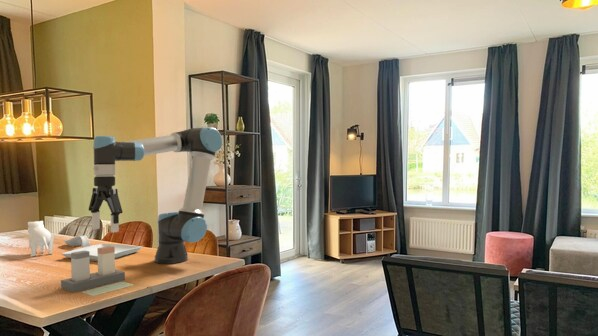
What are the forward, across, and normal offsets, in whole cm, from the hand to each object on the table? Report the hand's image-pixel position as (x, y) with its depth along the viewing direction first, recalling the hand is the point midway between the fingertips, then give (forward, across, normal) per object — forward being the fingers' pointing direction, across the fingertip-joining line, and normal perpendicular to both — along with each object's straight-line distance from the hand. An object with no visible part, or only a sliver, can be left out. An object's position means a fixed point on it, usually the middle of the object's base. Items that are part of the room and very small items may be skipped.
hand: (105, 230), depth 166 cm
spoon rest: (+21, -83, +31) cm, 91 cm away
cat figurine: (+21, -80, +9) cm, 83 cm away
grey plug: (+20, 0, -10) cm, 22 cm away
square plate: (+21, -50, +26) cm, 60 cm away
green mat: (+21, +10, -5) cm, 23 cm away
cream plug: (+20, 0, 0) cm, 20 cm away
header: (+21, 0, -5) cm, 21 cm away
